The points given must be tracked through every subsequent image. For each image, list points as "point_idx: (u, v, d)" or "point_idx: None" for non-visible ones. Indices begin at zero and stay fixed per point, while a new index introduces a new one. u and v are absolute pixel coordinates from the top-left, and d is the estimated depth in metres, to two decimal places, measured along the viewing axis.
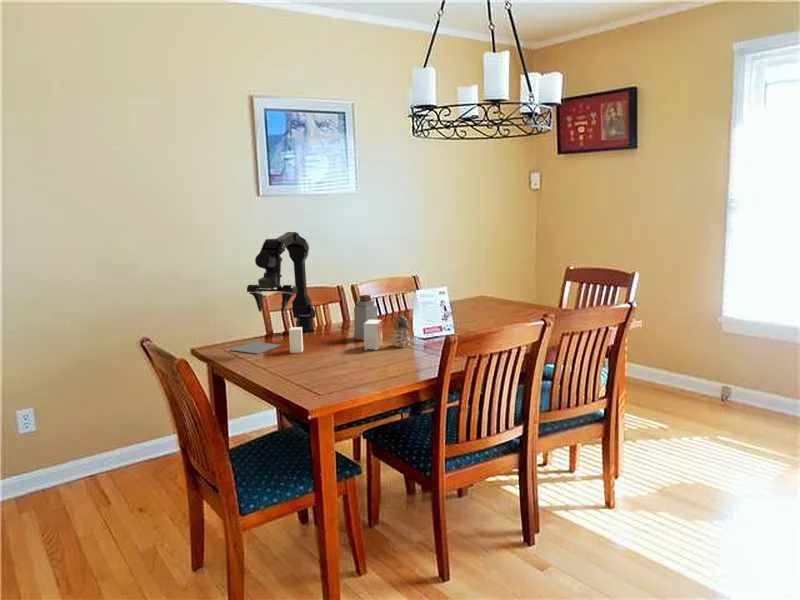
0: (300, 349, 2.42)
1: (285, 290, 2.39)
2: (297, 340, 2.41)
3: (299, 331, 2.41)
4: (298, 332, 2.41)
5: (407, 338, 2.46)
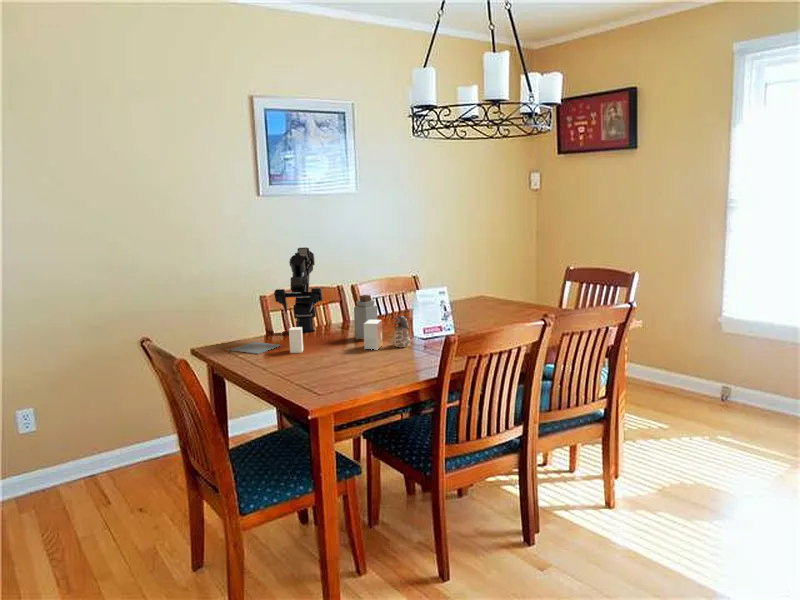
0: (300, 349, 2.42)
1: (314, 291, 2.54)
2: (297, 340, 2.41)
3: (299, 331, 2.41)
4: (298, 332, 2.41)
5: (407, 338, 2.46)
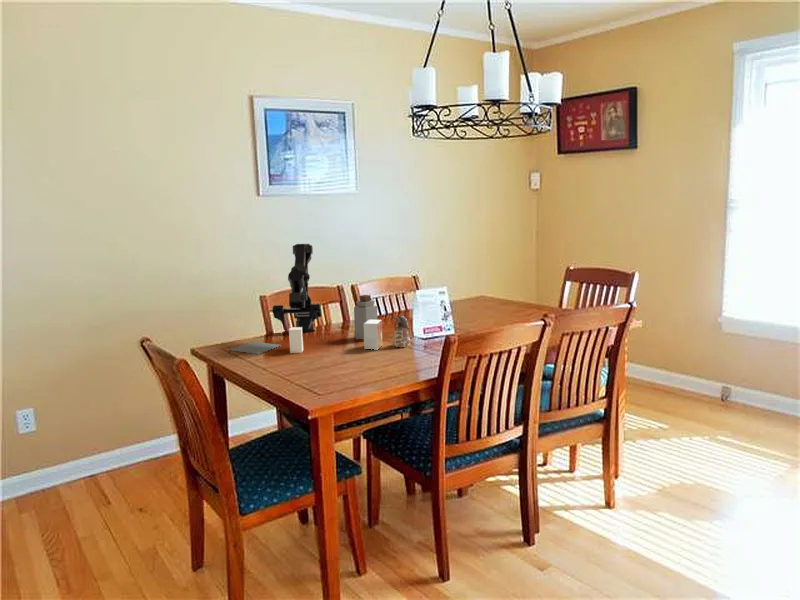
0: (300, 349, 2.42)
1: (313, 307, 2.47)
2: (297, 340, 2.41)
3: (299, 331, 2.41)
4: (298, 332, 2.41)
5: (407, 338, 2.46)
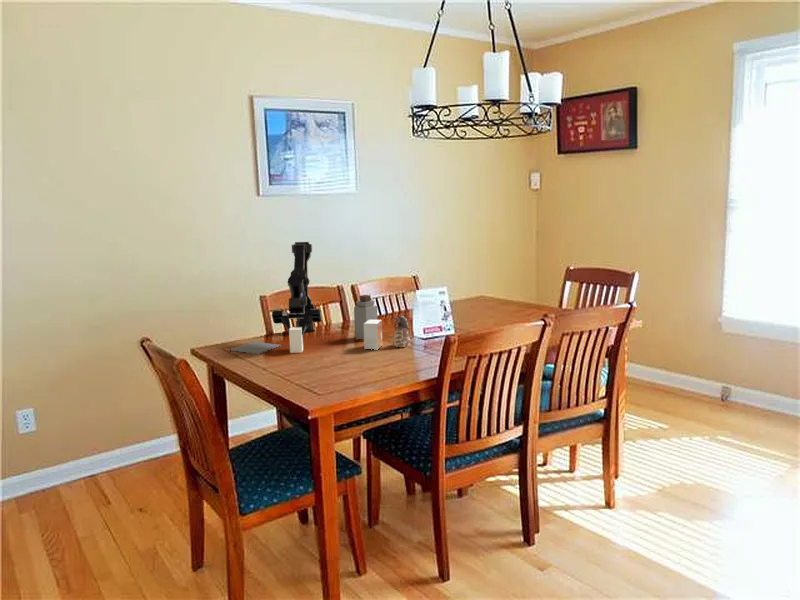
0: (300, 349, 2.42)
1: (313, 312, 2.46)
2: (297, 340, 2.41)
3: (299, 331, 2.41)
4: (298, 332, 2.41)
5: (407, 338, 2.46)
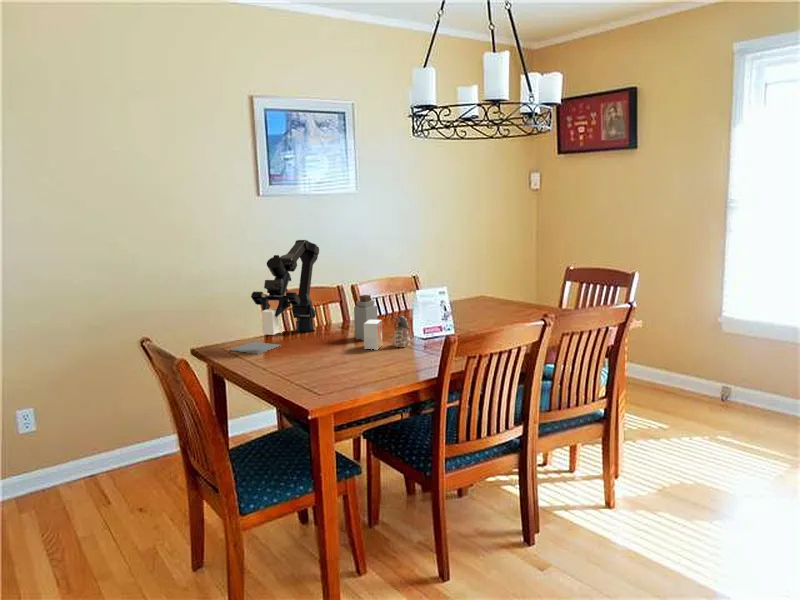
0: (272, 331, 2.43)
1: (288, 295, 2.45)
2: (269, 322, 2.42)
3: (271, 313, 2.41)
4: (270, 314, 2.41)
5: (407, 338, 2.46)
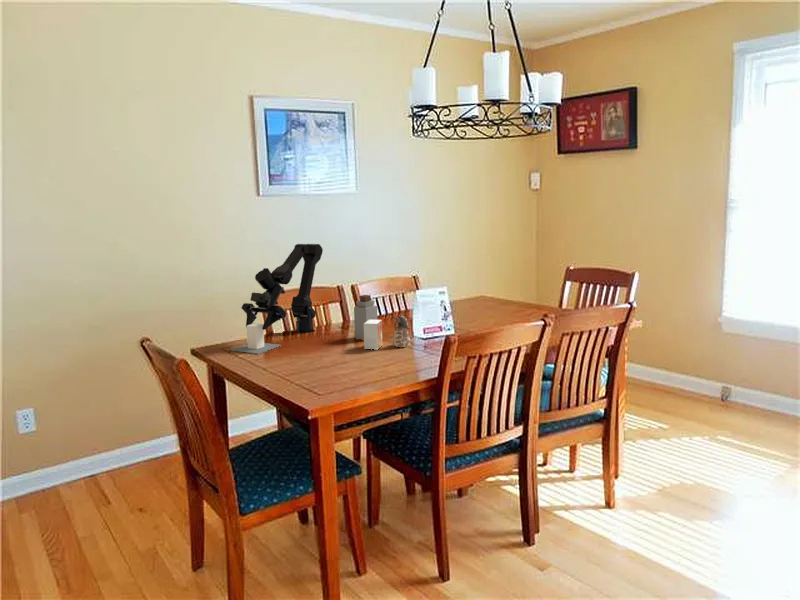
0: (255, 345, 2.47)
1: (272, 308, 2.47)
2: (253, 336, 2.47)
3: (254, 328, 2.46)
4: (253, 329, 2.46)
5: (407, 338, 2.46)
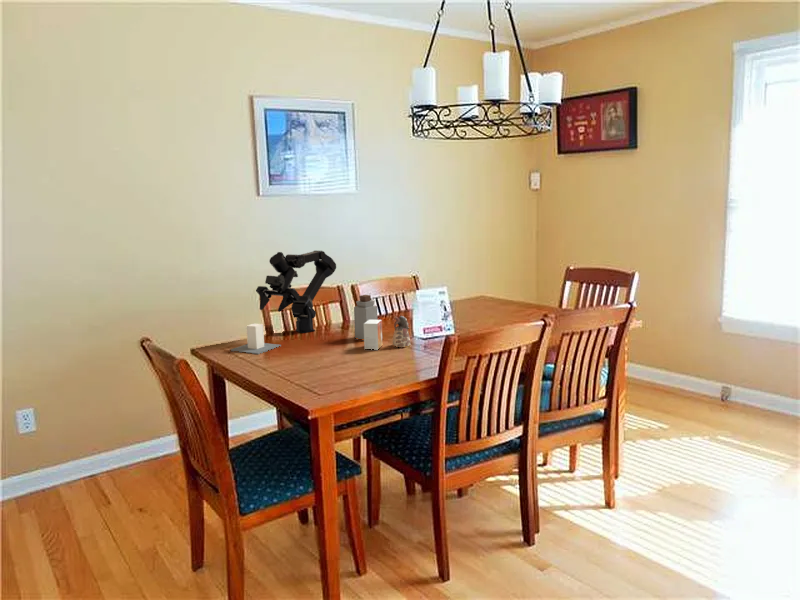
0: (255, 345, 2.47)
1: (287, 291, 2.55)
2: (253, 336, 2.47)
3: (254, 328, 2.46)
4: (253, 329, 2.46)
5: (407, 338, 2.46)
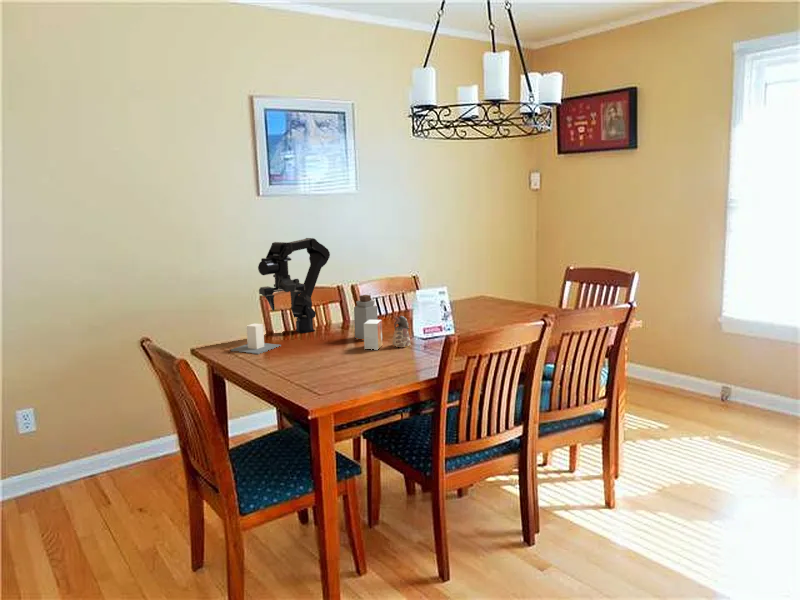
0: (255, 345, 2.47)
1: (300, 289, 2.67)
2: (253, 336, 2.47)
3: (254, 328, 2.46)
4: (253, 329, 2.46)
5: (407, 338, 2.46)
